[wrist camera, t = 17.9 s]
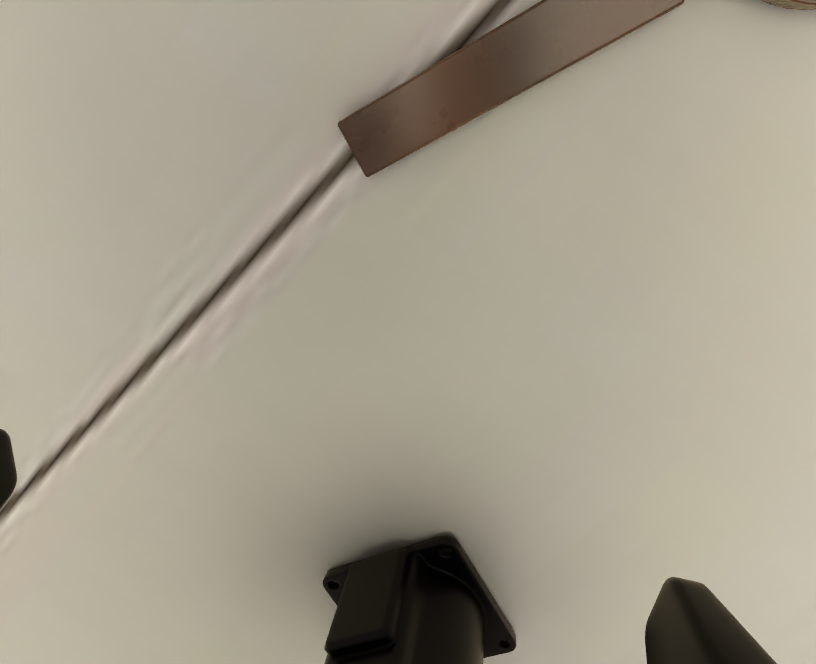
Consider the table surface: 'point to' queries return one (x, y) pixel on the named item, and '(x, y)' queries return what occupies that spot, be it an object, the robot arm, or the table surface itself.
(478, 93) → the wooden spoon
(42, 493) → the table surface
